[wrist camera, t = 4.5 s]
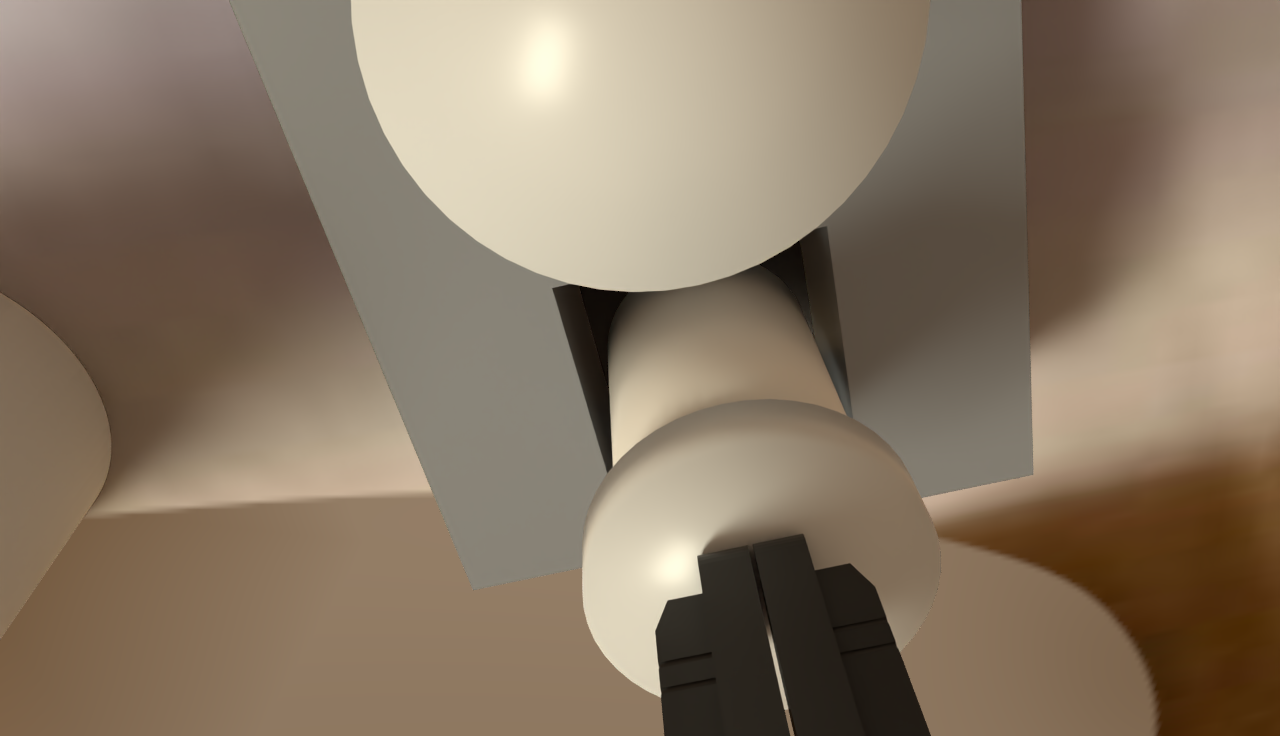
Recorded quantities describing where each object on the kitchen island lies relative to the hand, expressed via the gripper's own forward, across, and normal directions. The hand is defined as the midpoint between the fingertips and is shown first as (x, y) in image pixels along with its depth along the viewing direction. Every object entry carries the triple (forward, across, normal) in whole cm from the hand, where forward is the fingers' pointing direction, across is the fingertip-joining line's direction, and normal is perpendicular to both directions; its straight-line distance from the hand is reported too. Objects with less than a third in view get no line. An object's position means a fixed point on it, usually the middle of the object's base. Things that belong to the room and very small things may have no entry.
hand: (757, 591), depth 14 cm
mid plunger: (+6, 0, -8) cm, 10 cm away
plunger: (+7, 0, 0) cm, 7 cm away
